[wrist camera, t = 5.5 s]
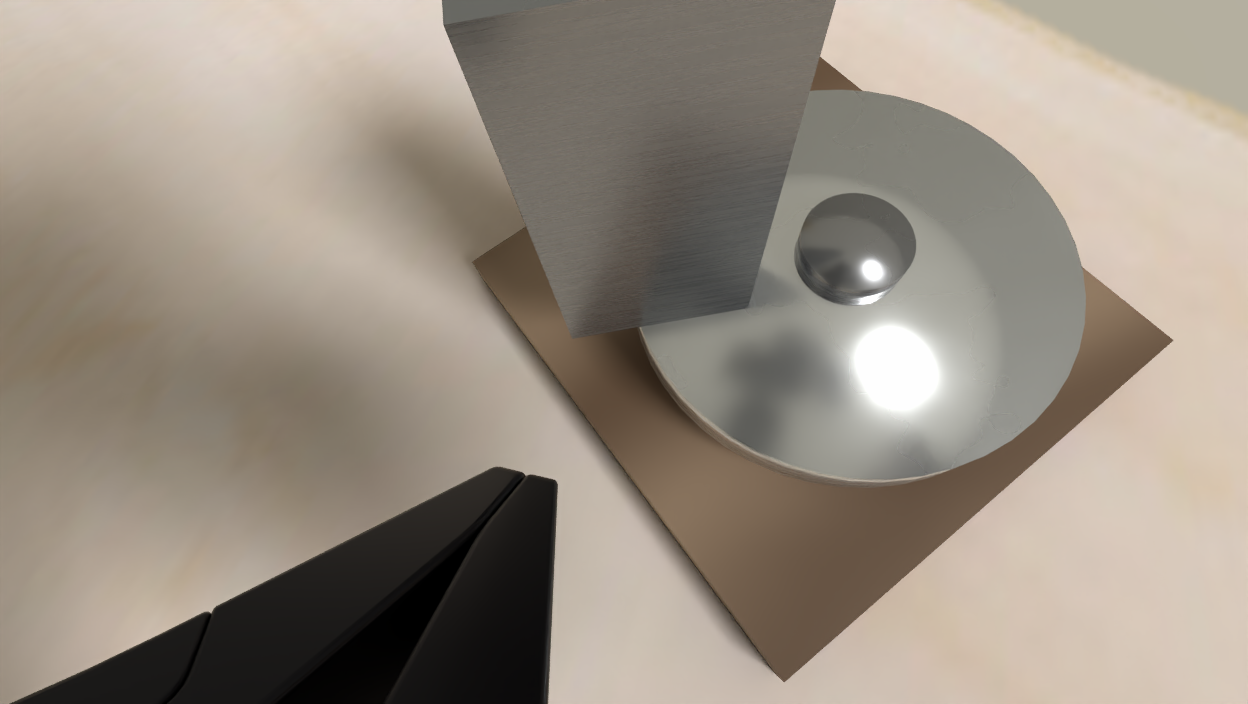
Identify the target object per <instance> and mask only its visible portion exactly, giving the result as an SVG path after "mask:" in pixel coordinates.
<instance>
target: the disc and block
mask: <svg viewBox="0 0 1248 704" xmlns="http://www.w3.org/2000/svg"><path fill="white" fill-rule="evenodd" d="M835 1H836V0H442V7H443V24H444V27H445V30H446V32H447V35H448V37H449V39H450V42H451V44H452V47H453V49H454V52H455V54H456V57H457V59H458V61H459V64H460V66H461V69H462V71H463V74H464V76H465V79H466V81H467V83H468V86H469V88H470V91H471V93H472V96H473V98H474V100H475V103H476V105H477V108H478V110H479V113H480V115H481V118H482V120H483V122H484V125H485V127H486V130H487V132H488V135H489V137H490V140H491V142H492V144H493V147H494V149H495V152H496V154H497V157H498V159H499V161H500V164H501V166H502V169H503V171H504V174H505V176H506V179H507V181H508V183H509V186H510V188H511V191H512V193H513V196H514V198H515V200H516V203H517V205H518V208H519V210H520V213H521V215H522V218H523V220H524V222H525V225H526V227H527V230H528V232H529V235H530V237H531V240H532V242H533V244H534V247H535V249H536V252H537V254H538V257H539V259H540V261H541V264H542V266H543V269H544V271H545V274H546V276H547V279H548V281H549V283H550V286H551V288H552V291H553V293H554V296H555V298H556V301H557V303H558V305H559V308H560V310H561V313H562V315H563V318H564V320H565V322H566V325H567V327H568V330H569V332H570V335H571V337H572V339H575V338H580V337H586V336H592V335H598V334H603V333H609V332H615V331H620V330H626V329H632V328H638V331H639V335H640V339H641V342H642V344H643V347H644V349H645V352H646V354H647V356H648V359H649V361H650V364H651V366H652V367H653V369H654V371H655V373H656V374H657V376H658V378H659V379H660V381H661V383H662V385H663V386H664V388H665V389H666V390H667V392H668V393H669V394H670V395H671V397H672V398H673V399H674V401H675V402H676V403H677V404H678V406H679V407H680V408H681V409H682V410H683V411H684V412H685V413H686V414H687V415H688V416H689V417H690V418H691V419H692V420H693V421H694V422H695V423H696V424H697V425H698V426H699V427H700V428H701V429H702V430H703V431H705V432H706V433H707V434H709V435H710V436H711V437H713V438H714V439H715V440H717V441H718V442H719V443H720V444H722V445H723V446H724V447H726V448H728V449H730V450H731V451H733V452H735V453H736V454H738V455H740V456H742V457H743V458H745V459H747V460H748V461H750V462H753V463H755V464H757V465H760V466H762V467H764V468H767V469H769V470H771V471H774V472H776V473H778V474H782V475H785V476H789V477H792V478H796V479H799V480H802V481H806V482H810V483H817V484H823V485H829V486H836V487H856V488H874V487H884V486H894V485H902V484H906V483H910V482H914V481H918V480H922V479H927V478H930V477H933V476H936V475H938V474H941V473H943V472H946V471H948V470H951V469H954V468H956V467H959V466H961V465H964V464H966V463H969V462H971V461H974V460H976V459H979V458H981V457H984V456H986V455H987V454H989V453H991V452H993V451H994V450H996V449H998V448H999V447H1001V446H1003V445H1005V444H1006V443H1008V442H1010V441H1011V440H1013V439H1014V438H1015V437H1016V436H1018V435H1019V434H1020V433H1021V432H1023V431H1024V430H1025V429H1026V428H1027V427H1029V426H1030V425H1031V424H1032V423H1034V422H1035V421H1036V420H1037V418H1038V417H1039V416H1040V415H1041V414H1042V413H1043V412H1044V410H1045V409H1046V408H1047V407H1048V406H1049V405H1050V404H1051V403H1052V401H1053V400H1054V399H1055V397H1056V396H1057V394H1058V392H1059V391H1060V389H1061V388H1062V386H1063V384H1064V383H1065V381H1066V380H1067V378H1068V376H1069V374H1070V372H1071V369H1072V367H1073V364H1074V362H1075V359H1076V357H1077V354H1078V352H1079V348H1080V344H1081V339H1082V334H1083V330H1084V325H1085V307H1086V293H1085V285H1084V276H1083V269H1082V266H1081V262H1080V258H1079V255H1078V251H1077V248H1076V244H1075V242H1074V240H1073V237H1072V235H1071V233H1070V230H1069V228H1068V226H1067V224H1066V221H1065V219H1064V218H1063V216H1062V214H1061V213H1060V211H1059V209H1058V208H1057V206H1056V205H1055V203H1054V201H1053V200H1052V198H1051V196H1050V195H1049V194H1048V193H1047V191H1046V190H1045V189H1044V188H1043V186H1042V185H1041V184H1040V183H1039V181H1038V180H1037V179H1036V178H1035V176H1034V175H1033V174H1032V173H1031V172H1030V171H1029V170H1028V169H1027V168H1026V167H1025V166H1024V165H1023V164H1022V163H1021V162H1020V161H1019V160H1018V159H1017V158H1016V157H1015V156H1013V155H1012V154H1011V153H1010V152H1008V151H1007V150H1006V149H1005V148H1003V147H1002V146H1001V145H1000V144H998V143H997V142H996V141H994V140H993V139H992V138H990V137H988V136H987V135H985V134H984V133H982V132H981V131H979V130H977V129H976V128H974V127H973V126H971V125H969V124H967V123H965V122H963V121H961V120H959V119H957V118H955V117H953V116H951V115H949V114H947V113H945V112H942V111H940V110H937V109H935V108H932V107H929V106H927V105H924V104H921V103H918V102H914V101H911V100H907V99H903V98H900V97H896V96H891V95H885V94H879V93H873V92H867V91H853V90H815V91H810V89H811V85H812V82H813V78H814V75H815V71H816V68H817V64H818V61H819V57H820V54H821V50H822V47H823V43H824V40H825V36H826V33H827V29H828V26H829V22H830V19H831V15H832V12H833V8H834V5H835Z"/></svg>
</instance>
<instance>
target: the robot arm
mask: <svg viewBox="0 0 1248 704" xmlns="http://www.w3.org/2000/svg"><path fill="white" fill-rule="evenodd" d="M557 492H558V484H557V482H556V481H555V480H553V479H549V478H545V477H541V476H536V475H527V476H525V474H524V473H522V472H519V471H515V470H511V469H507V468H503V467H494V468H491V469H489V470H487V471H485V472H483V473H481V474H479V475H477V476H475V477H473V478H471V479H469V480H467V481H465V482H463V483H461V484H459V485H457V486H455V487H453V488H451V489H449V490H447V491H445V492H443V493H441V494H439V495H437V496H435V497H433V498H431V499H429V500H427V501H425V502H423V503H421V504H419V505H417V506H415V507H413V508H411V509H409V510H407V511H405V512H403V513H401V514H399V515H397V516H395V517H393V518H391V519H389V520H387V521H385V522H383V523H381V524H379V525H377V526H375V527H373V528H371V529H369V530H367V531H365V532H363V533H361V534H359V535H357V536H355V537H353V538H351V539H349V540H347V541H345V542H343V543H341V544H339V545H337V546H335V547H333V548H331V549H329V550H327V551H325V552H323V553H321V554H319V555H317V556H315V557H313V558H311V559H309V560H307V561H305V562H304V563H302V564H300V565H298V566H296V567H294V568H292V569H290V570H288V571H286V572H284V573H282V574H280V575H278V576H276V577H274V578H272V579H270V580H268V581H266V582H264V583H262V584H260V585H258V586H256V587H254V588H252V589H250V590H248V591H246V592H244V593H242V594H240V595H238V596H236V597H234V598H232V599H230V600H228V601H226V602H224V603H222V604H220V605H218V606H216V607H215V608H214V609H213V611H212V614H211V613H210V612H203V613H201V614H199V615H197V616H195V617H193V618H191V619H189V620H187V621H185V622H183V623H181V624H179V625H177V626H175V627H173V628H171V629H169V630H167V631H165V632H163V633H161V634H159V635H157V636H155V637H153V638H151V639H149V640H147V641H145V642H143V643H141V644H139V645H136V646H134V647H132V648H130V649H128V650H126V651H124V652H122V653H120V654H118V655H116V656H114V657H112V658H109V659H107V660H105V661H103V662H101V663H99V664H97V665H95V666H93V667H91V668H89V669H86V670H84V671H82V672H80V673H77V674H75V675H73V676H71V677H68V678H66V679H64V680H62V681H59V682H57V683H55V684H53V685H51V686H48V687H46V688H44V689H42V690H39V691H37V692H35V693H33V694H30V695H28V696H26V697H24V698H21V699H19V700H17V701H15V702H12V703H10V704H548V694H549V672H550V649H551V627H552V604H553V582H554V559H555V537H556V514H557Z"/></svg>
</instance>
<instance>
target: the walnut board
mask: <svg viewBox="0 0 1248 704" xmlns="http://www.w3.org/2000/svg"><path fill="white" fill-rule="evenodd" d="M815 90H853V91H862V90H861V89H859V88H858V87H857V86H856V85H855V84H853V83H852V82H851V81H850V80H848V79H847V78H846V77H845V76H843V75H842V74H841V73H840V72H838V71H837V70H836V69H835V68H833V67H832V66H831V65H830V64H828V63H827V62H826V61H825V60H823V59H822V58H821V57H819V61H818V64H817V68H816V71H815V75H814V78H813V82H812V85H811V89H810V91H815ZM473 264H474V265H475V267H476V269H477V270H478V272H479V273H480V275H481V277H482V278H483V280H484V281H485V282H486V284H487V285H488V286H489V288H490V289H491V290H492V292H493V293H494V294H495V296H496V297H497V299H498V300H499V301H500V303H501V304H502V305H503V307H504V308H505V309H506V311H507V312H508V313H509V315H510V316H511V317H512V319H513V320H514V321H515V323H516V324H517V326H518V327H519V328H520V330H521V331H522V332H523V334H524V335H525V336H526V338H527V339H528V340H529V342H530V343H531V344H532V346H533V347H534V348H535V350H536V351H537V353H538V354H539V355H540V357H541V358H542V359H543V361H544V362H545V363H546V365H547V366H548V367H549V369H550V370H551V371H552V373H553V374H554V375H555V377H556V378H557V380H558V381H559V382H560V384H561V385H562V386H563V388H564V389H565V390H566V392H567V393H568V394H569V396H570V397H571V398H572V400H573V401H574V403H575V404H576V405H577V407H578V408H579V409H580V411H581V412H582V413H583V415H584V416H585V417H586V419H587V420H588V421H589V423H590V424H591V425H592V427H593V428H594V430H595V431H596V432H597V434H598V435H599V436H600V438H601V439H602V440H603V442H604V443H605V444H606V446H607V447H608V448H609V450H610V451H611V452H612V454H613V455H614V457H615V458H616V459H617V461H618V462H619V463H620V465H621V466H622V467H623V469H624V470H625V471H626V473H627V474H628V475H629V477H630V478H631V479H632V481H633V482H634V484H635V485H636V486H637V488H638V489H639V490H640V492H641V493H642V494H643V496H644V497H645V498H646V500H647V501H648V502H649V504H650V505H651V506H652V508H653V509H654V511H655V512H656V513H657V515H658V516H659V517H660V519H661V520H662V521H663V523H664V524H665V525H666V527H667V528H668V529H669V531H670V532H671V533H672V535H673V536H674V538H675V539H676V540H677V542H678V543H679V544H680V546H681V547H682V548H683V550H684V551H685V552H686V554H687V555H688V556H689V558H690V559H691V560H692V562H693V563H694V565H695V566H696V567H697V569H698V570H699V571H700V573H701V574H702V575H703V577H704V578H705V579H706V581H707V582H708V583H709V585H710V586H711V587H712V589H713V590H714V592H715V593H716V594H717V596H718V597H719V598H720V600H721V601H722V602H723V604H724V605H725V606H726V608H727V609H728V610H729V612H730V613H731V614H732V616H733V617H734V619H735V620H736V621H737V623H738V624H739V625H740V627H741V628H742V629H743V631H744V632H745V633H746V635H747V636H748V637H749V639H750V640H751V641H752V643H753V644H754V646H755V647H756V648H757V650H758V651H759V652H760V654H761V655H762V656H763V658H764V659H765V660H766V662H767V663H768V664H769V666H770V667H771V668H772V670H773V671H774V673H775V674H776V675H777V676H778V677H779V678H780V679H781V680H782V681H783V682H785V681H786V680H787V679H789V678H790V677H791V676H792V675H793V674H794V673H795V672H797V671H798V670H799V669H800V668H801V667H802V666H803V665H805V664H806V663H807V662H808V661H809V660H810V659H811V658H813V657H814V656H815V655H816V654H817V653H818V652H819V651H820V650H822V649H823V648H824V647H825V646H826V645H827V644H828V643H830V642H831V641H832V640H833V639H834V638H835V637H836V636H838V635H839V634H840V633H841V632H842V631H843V630H844V629H846V628H847V627H848V626H849V625H850V624H851V623H852V622H853V621H855V620H856V619H857V618H858V617H859V616H860V615H861V614H863V613H864V612H865V611H866V610H867V609H868V608H869V607H871V606H872V605H873V604H874V603H875V602H876V601H877V600H879V599H880V598H881V597H882V596H883V595H884V594H885V593H886V592H888V591H889V590H890V589H891V588H892V587H893V586H894V585H896V584H897V583H898V582H899V581H900V580H901V579H902V578H904V577H905V576H906V575H907V574H908V573H909V572H910V571H912V570H913V569H914V568H915V567H916V566H917V565H918V564H919V563H921V562H922V561H923V560H924V559H925V558H926V557H927V556H929V555H930V554H931V553H932V552H933V551H934V550H935V549H937V548H938V547H939V546H940V545H941V544H942V543H943V542H945V541H946V540H947V539H948V538H949V537H950V536H951V535H952V534H954V533H955V532H956V531H957V530H958V529H959V528H960V527H962V526H963V525H964V524H965V523H966V522H967V521H968V520H970V519H971V518H972V517H973V516H974V515H975V514H976V513H977V512H979V511H980V510H981V509H982V508H983V507H984V506H985V505H987V504H988V503H989V502H990V501H991V500H992V499H993V498H995V497H996V496H997V495H998V494H999V493H1000V492H1001V491H1003V490H1004V489H1005V488H1006V487H1007V486H1008V485H1009V484H1010V483H1012V482H1013V481H1014V480H1015V479H1016V478H1017V477H1018V476H1020V475H1021V474H1022V473H1023V472H1024V471H1025V470H1026V469H1028V468H1029V467H1030V466H1031V465H1032V464H1033V463H1034V462H1036V461H1037V460H1038V459H1039V458H1040V457H1041V456H1042V455H1043V454H1045V453H1046V452H1047V451H1048V450H1049V449H1050V448H1051V447H1053V446H1054V445H1055V444H1056V443H1057V442H1058V441H1059V440H1061V439H1062V438H1063V437H1064V436H1065V435H1066V434H1067V433H1069V432H1070V431H1071V430H1072V429H1073V428H1074V427H1075V426H1076V425H1078V424H1079V423H1080V422H1081V421H1082V420H1083V419H1084V418H1086V417H1087V416H1088V415H1089V414H1090V413H1091V412H1092V411H1094V410H1095V409H1096V408H1097V407H1098V406H1099V405H1100V404H1102V403H1103V402H1104V401H1105V400H1106V399H1107V398H1108V397H1109V396H1111V395H1112V394H1113V393H1114V392H1115V391H1116V390H1117V389H1119V388H1120V387H1121V386H1122V385H1123V384H1124V383H1125V382H1127V381H1128V380H1129V379H1130V378H1131V377H1132V376H1133V375H1135V374H1136V373H1137V372H1138V371H1139V370H1140V369H1141V368H1142V367H1144V366H1145V365H1146V364H1147V363H1148V362H1149V361H1150V360H1152V359H1153V358H1154V357H1155V356H1156V355H1157V354H1158V353H1160V352H1161V351H1162V350H1163V349H1164V348H1165V347H1166V346H1167V345H1169V344H1170V343H1171V342H1172V341H1173V340H1172V339H1171V338H1170V337H1169V336H1167V335H1166V334H1165V333H1164V332H1162V331H1161V330H1160V329H1159V328H1157V327H1156V326H1155V325H1154V324H1153V323H1151V322H1150V321H1149V320H1148V319H1146V318H1145V317H1144V316H1143V315H1141V314H1140V313H1139V312H1138V311H1136V310H1135V309H1134V308H1133V307H1131V306H1130V305H1129V304H1128V303H1126V302H1125V301H1124V300H1123V299H1121V298H1120V297H1119V296H1118V295H1116V294H1115V293H1114V292H1113V291H1111V290H1110V289H1109V288H1108V287H1106V286H1105V285H1104V284H1103V283H1101V282H1100V281H1099V280H1098V279H1096V278H1095V277H1094V276H1093V275H1091V274H1090V273H1089V272H1088V271H1086V270H1085V269H1084V268H1083V267H1082V269H1083V276H1084V285H1085V293H1086V307H1085V325H1084V330H1083V334H1082V339H1081V344H1080V348H1079V352H1078V354H1077V357H1076V359H1075V362H1074V364H1073V367H1072V369H1071V372H1070V374H1069V376H1068V378H1067V380H1066V381H1065V383H1064V384H1063V386H1062V388H1061V389H1060V391H1059V392H1058V394H1057V396H1056V397H1055V399H1054V400H1053V401H1052V403H1051V404H1050V405H1049V406H1048V407H1047V408H1046V409H1045V410H1044V412H1043V413H1042V414H1041V415H1040V416H1039V417H1038V418H1037V420H1036V421H1035V422H1034V423H1032V424H1031V425H1030V426H1029V427H1027V428H1026V429H1025V430H1024V431H1023V432H1021V433H1020V434H1019V435H1018V436H1016V437H1015V438H1014V439H1013V440H1011V441H1010V442H1008V443H1006V444H1005V445H1003V446H1001V447H999V448H998V449H996V450H994V451H993V452H991V453H989V454H987V455H986V456H984V457H981V458H979V459H976V460H974V461H971V462H969V463H966V464H964V465H961V466H959V467H956V468H954V469H951V470H948V471H946V472H943V473H941V474H938V475H936V476H933V477H930V478H927V479H922V480H918V481H914V482H910V483H906V484H902V485H894V486H884V487H874V488H856V487H836V486H829V485H823V484H817V483H810V482H806V481H802V480H799V479H796V478H792V477H789V476H785V475H782V474H778V473H776V472H774V471H771V470H769V469H767V468H764V467H762V466H760V465H757V464H755V463H753V462H750V461H748V460H747V459H745V458H743V457H742V456H740V455H738V454H736V453H735V452H733V451H731V450H730V449H728V448H726V447H724V446H723V445H722V444H720V443H719V442H718V441H717V440H715V439H714V438H713V437H711V436H710V435H709V434H707V433H706V432H705V431H703V430H702V429H701V428H700V427H699V426H698V425H697V424H696V423H695V422H694V421H693V420H692V419H691V418H690V417H689V416H688V415H687V414H686V413H685V412H684V411H683V410H682V409H681V408H680V407H679V406H678V404H677V403H676V402H675V401H674V399H673V398H672V397H671V395H670V394H669V393H668V392H667V390H666V389H665V388H664V386H663V385H662V383H661V381H660V379H659V378H658V376H657V374H656V373H655V371H654V369H653V367H652V366H651V364H650V361H649V359H648V356H647V354H646V352H645V349H644V347H643V344H642V342H641V339H640V335H639V331H638V328H632V329H626V330H620V331H615V332H609V333H603V334H598V335H592V336H586V337H580V338H575V339H572V337H571V335H570V332H569V330H568V327H567V325H566V322H565V320H564V318H563V315H562V313H561V310H560V308H559V305H558V303H557V301H556V298H555V296H554V293H553V291H552V288H551V286H550V283H549V281H548V279H547V276H546V274H545V271H544V269H543V266H542V264H541V261H540V259H539V257H538V254H537V252H536V249H535V247H534V244H533V242H532V240H531V237H530V235H529V232H528V230H527V227H525V228H523V229H522V230H520V231H519V232H517V233H516V234H514V235H513V236H511V237H510V238H508V239H506V240H505V241H503V242H502V243H500V244H499V245H497V246H496V247H494V248H493V249H491V250H490V251H488V252H487V253H485V254H484V255H482V256H480V257H479V258H477V259H476V260H474V261H473Z"/></svg>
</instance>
